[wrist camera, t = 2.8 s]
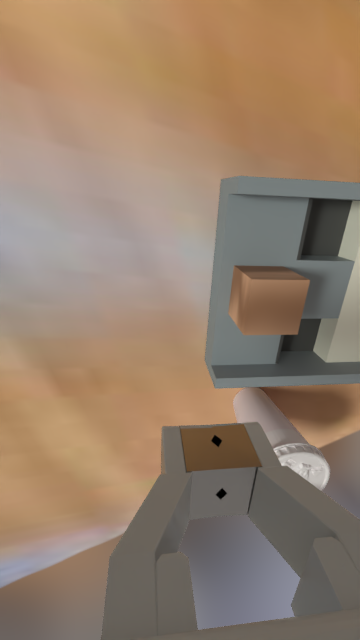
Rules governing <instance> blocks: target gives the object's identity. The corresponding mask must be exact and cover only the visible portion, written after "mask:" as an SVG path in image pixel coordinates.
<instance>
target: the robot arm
mask: <svg viewBox="0 0 360 640" xmlns="http://www.w3.org/2000/svg"><path fill="white" fill-rule="evenodd" d="M233 515H248V517H249V518H250V519H251V521H252V522H253V523H254V524H255V525H256V526H257V528H258V529H259V530H260V531H261V532H262V533H263V535H264V536H265V537H266V538H267V539H268V541H269V542H270V543H271V544H272V545H273V546H274V548H275V549H276V550H277V551H278V552H279V553H280V554H281V556H282V557H283V558H284V559H285V560H286V562H287V563H288V564H289V565H290V566H291V567H292V569H293V570H294V571H295V572H296V573H297V574H298V576H299V577H300V578H301V579H300V581H299V584H298V587H297V590H296V593H295V595H294V598H293V601H292V604H291V607H292V610H293V612H294V615H295V617H290V618H283V619H276V620H268V621H261V622H253V623H247V624H239V625H231V626H224V627H217V628H209V629H203V630H198V628H197V621H196V614H195V606H194V597H193V590H192V582H191V575H190V567H189V559H188V557H186V556H185V555H184V554H183V553H181V552H178V549H179V546H180V544H181V541H182V538H183V536H184V533H185V530H186V528H187V525H188V523H189V520H192V519H201V518H209V517H217V516H233ZM101 640H360V519H358V518H357V517H355V516H354V515H353V514H351V513H350V512H349V511H347V510H346V509H345V508H343V507H342V506H341V505H339V504H338V503H336V502H335V501H334V500H333V499H331V498H330V497H329V496H327V495H326V494H324V493H323V492H322V491H320V490H319V489H318V488H316V487H315V486H314V485H312V484H311V483H310V482H308V481H307V480H306V479H304V478H303V477H302V476H300V475H299V474H298V473H296V472H295V471H293V470H292V469H291V468H289V467H288V466H282V465H281V463H280V461H279V459H278V457H277V455H276V453H275V452H274V450H273V448H272V446H271V444H270V442H269V440H268V438H267V436H266V434H265V432H264V431H263V429H262V427H261V425H260V424H259V423H258V422H247V423H232V424H216V425H189V426H179V427H178V426H162V437H161V474H160V476H159V477H158V479H157V480H156V482H155V484H154V485H153V487H152V489H151V490H150V492H149V494H148V495H147V497H146V499H145V500H144V502H143V503H142V505H141V507H140V508H139V510H138V512H137V513H136V515H135V517H134V518H133V520H132V521H131V523H130V525H129V526H128V528H127V530H126V531H125V533H124V535H123V536H122V538H121V540H120V541H119V543H118V544H117V546H116V548H115V549H114V551H113V553H112V554H111V556H110V559H109V569H108V578H107V589H106V597H105V607H104V617H103V626H102V635H101Z"/></svg>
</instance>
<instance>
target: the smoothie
mask: <svg viewBox="0 0 360 640" xmlns="http://www.w3.org/2000/svg"><path fill="white" fill-rule="evenodd" d="M233 406H234V410H235V414H236V418H237V423H247V422H258V423H259V424H260V425H261V427H262V429H263V431H264V432H265V434H266V436H267V438H268V440H269V442H270V444H271V446H272V448H273V450H274V452H275V453H276V455H277V457H278V459H279V461H280V463H281V465H282V466H288V467H289V468H291V469H292V470H293V471H295V472H296V473H298V474H299V475H300V476H302V477H303V478H304V479H306V480H307V481H308V482H310V483H311V484H312V485H314V486H315V487H316V488H318V489H319V490H320V491H322V490H323V489H324V487H325V486H326V484H327V482H328V480H329V477H330V467H329V465H328V463H327V461H326V460H325V458H324V456H323V454H322V452H321V451H320V450H319V449H317V448H316V447H315V446H312V445H310V444H309V443H308V442H307V441H306V440H305V438H304V437H303V436H302V435H301V434H300V433H299V432H298V430H297V429H296V428H295V427H294V426H293V425H292V423H291V422H290V421H289V420H288V419H287V418H286V416H285V415H284V414H283V413H282V412H281V411H280V409H279V408H278V407H277V406H276V405H275V404H274V402H273V401H272V400H271V399H270V398H269V397H268V395H267V394H266V393H265V392H264V391H263V390H262V389H260V388H258V387H247V388H245V389H242V390H241V391H239V392H238V393H237V394H236V396H235V398H234V400H233Z"/></svg>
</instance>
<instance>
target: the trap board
mask: <svg viewBox="0 0 360 640" xmlns="http://www.w3.org/2000/svg"><path fill="white" fill-rule="evenodd" d="M234 265H238V266H284V267H285V268H287V269H289V270H291V271H293V272H295V273H297V274H299V275H301V276H303V277H305V278H307V279H309V280H310V283H309V287H308V292H307V296H306V300H305V304H304V309H303V313H302V317H301V322H300V326H299V330H298V335H243V334H242V332H241V331H240V329H239V328H238V327H237V325H236V324H235V322H234V321H233V320H232V318H231V317H230V315H229V314H228V311H229V302H230V294H231V286H232V277H233V269H234ZM205 362H206V365H207V368H208V370H209V373H210V376H211V379H212V381H213V384H214V387H215V388H243V387H271V386H299V385H326V384H354V383H360V183H352V182H335V181H317V180H300V179H283V178H266V177H248V176H236V177H232V178H227V179H222V180H221V187H220V198H219V209H218V220H217V231H216V242H215V253H214V264H213V275H212V286H211V297H210V308H209V319H208V330H207V341H206V352H205Z"/></svg>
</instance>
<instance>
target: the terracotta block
mask: <svg viewBox="0 0 360 640" xmlns="http://www.w3.org/2000/svg"><path fill="white" fill-rule="evenodd" d="M309 283H310V280H309V279H307V278H305V277H303V276H301V275H299V274H297V273H295V272H293V271H291V270H289V269H287V268H285V267H284V266H238V265H234V269H233V277H232V286H231V294H230V302H229V311H228V314H229V315H230V317H231V318H232V320H233V321H234V322H235V324H236V325H237V327H238V328H239V329H240V331H241V332H242V334H243V335H298V330H299V326H300V322H301V317H302V313H303V309H304V304H305V300H306V296H307V292H308V287H309Z"/></svg>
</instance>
